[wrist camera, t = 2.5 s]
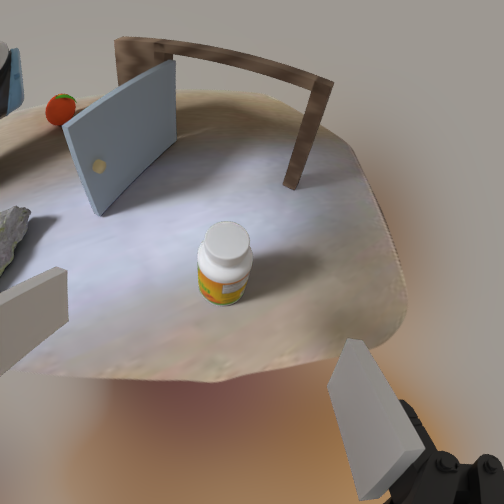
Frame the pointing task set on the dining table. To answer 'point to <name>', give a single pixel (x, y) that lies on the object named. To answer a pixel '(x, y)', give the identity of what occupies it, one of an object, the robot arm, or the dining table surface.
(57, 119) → the clementine
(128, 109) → the door
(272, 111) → the dining table surface
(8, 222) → the mineral specimen
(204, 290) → the supplement bottle
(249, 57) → the door frame
